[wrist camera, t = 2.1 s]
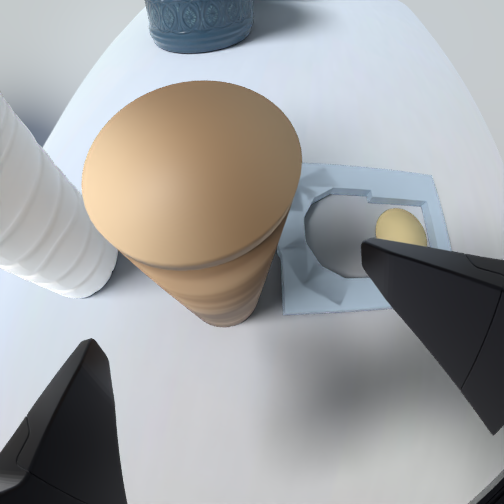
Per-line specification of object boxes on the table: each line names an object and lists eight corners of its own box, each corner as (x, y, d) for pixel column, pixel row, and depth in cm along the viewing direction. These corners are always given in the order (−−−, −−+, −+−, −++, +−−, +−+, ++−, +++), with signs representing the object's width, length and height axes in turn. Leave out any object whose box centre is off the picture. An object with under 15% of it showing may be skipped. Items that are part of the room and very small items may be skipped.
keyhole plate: (279, 314, 19) (281, 313, 18) (272, 169, 22) (274, 161, 22) (452, 302, 20) (459, 299, 19) (426, 180, 23) (431, 175, 22)
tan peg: (224, 341, 18) (176, 320, 5) (174, 292, 19) (51, 167, 5) (273, 290, 19) (345, 152, 6) (223, 244, 20) (198, 60, 7)
